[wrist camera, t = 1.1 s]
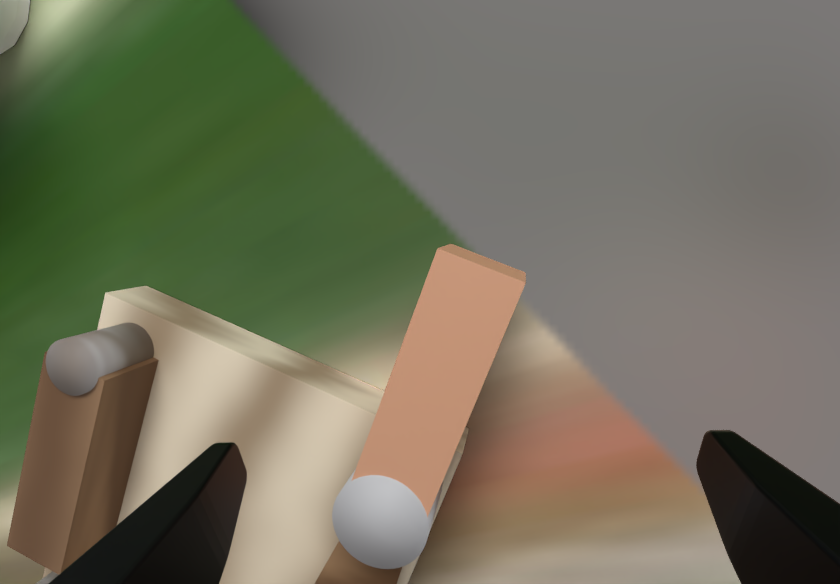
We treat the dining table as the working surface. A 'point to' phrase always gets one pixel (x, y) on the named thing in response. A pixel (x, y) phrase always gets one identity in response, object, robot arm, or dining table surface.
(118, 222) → the dining table surface
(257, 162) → the dining table surface
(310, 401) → the flat cream base board
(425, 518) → the hinged leg
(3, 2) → the foam cup
